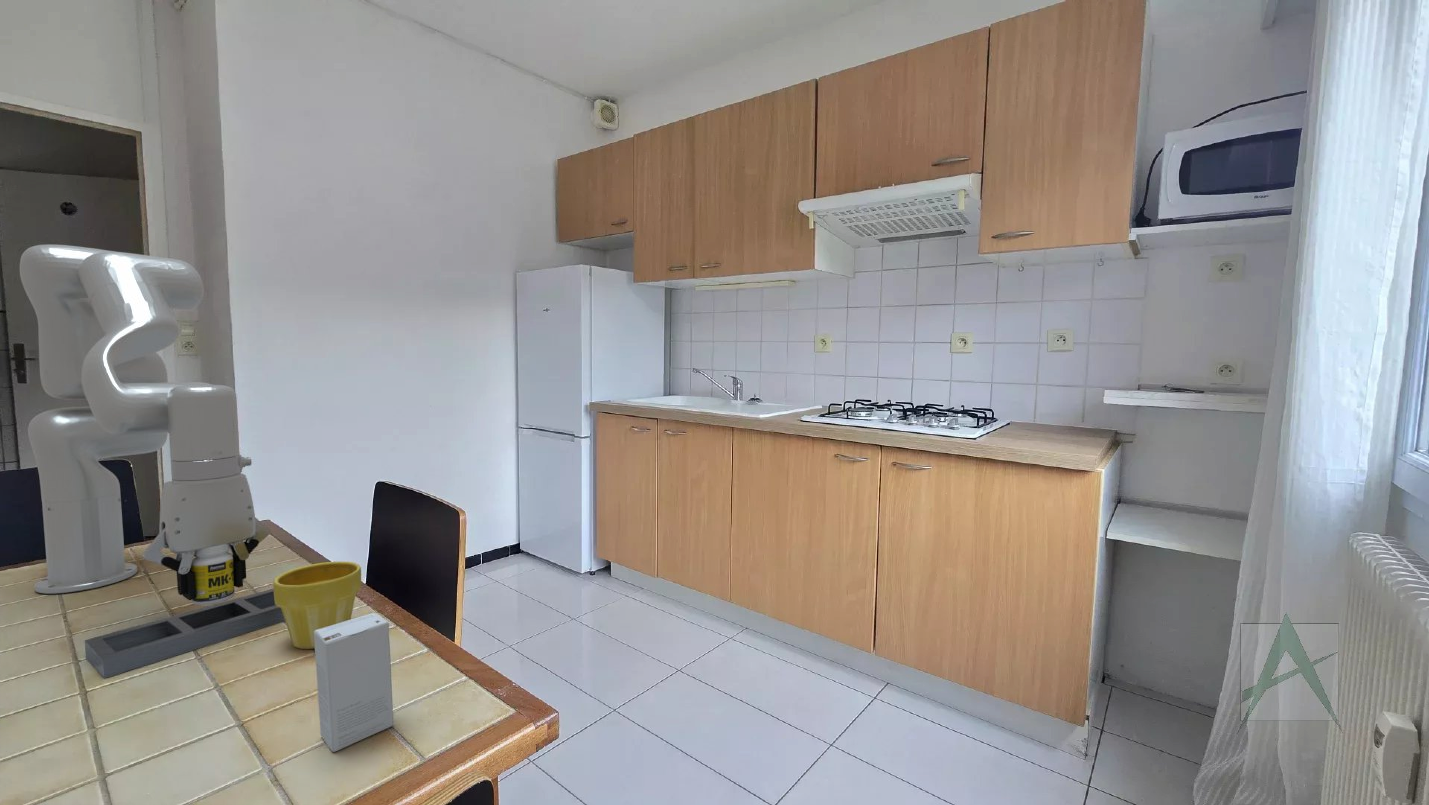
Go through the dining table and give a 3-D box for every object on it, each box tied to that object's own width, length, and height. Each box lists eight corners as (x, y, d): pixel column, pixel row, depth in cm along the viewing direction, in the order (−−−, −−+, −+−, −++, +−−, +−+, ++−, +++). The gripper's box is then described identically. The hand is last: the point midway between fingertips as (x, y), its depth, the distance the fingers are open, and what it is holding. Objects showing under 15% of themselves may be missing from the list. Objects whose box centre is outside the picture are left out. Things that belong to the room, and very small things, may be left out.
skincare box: (379, 712, 66) (375, 609, 65) (395, 728, 63) (392, 620, 62) (316, 738, 61) (311, 628, 61) (330, 757, 59) (326, 641, 58)
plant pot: (330, 618, 90) (327, 556, 90) (379, 628, 87) (377, 564, 86) (258, 648, 80) (255, 580, 80) (311, 661, 77) (308, 590, 76)
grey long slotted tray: (85, 657, 78) (84, 640, 78) (298, 595, 99) (297, 581, 99) (104, 678, 73) (103, 660, 73) (324, 608, 94) (323, 594, 93)
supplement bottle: (209, 607, 83) (206, 550, 82) (183, 604, 84) (180, 547, 83) (243, 594, 87) (240, 540, 87) (218, 591, 88) (215, 537, 88)
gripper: (265, 459, 93) (270, 569, 95) (117, 476, 79) (125, 605, 80) (286, 463, 89) (291, 579, 90) (133, 482, 75) (142, 619, 76)
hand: (213, 590), depth 85 cm, fingers closed on supplement bottle, 4 cm apart
